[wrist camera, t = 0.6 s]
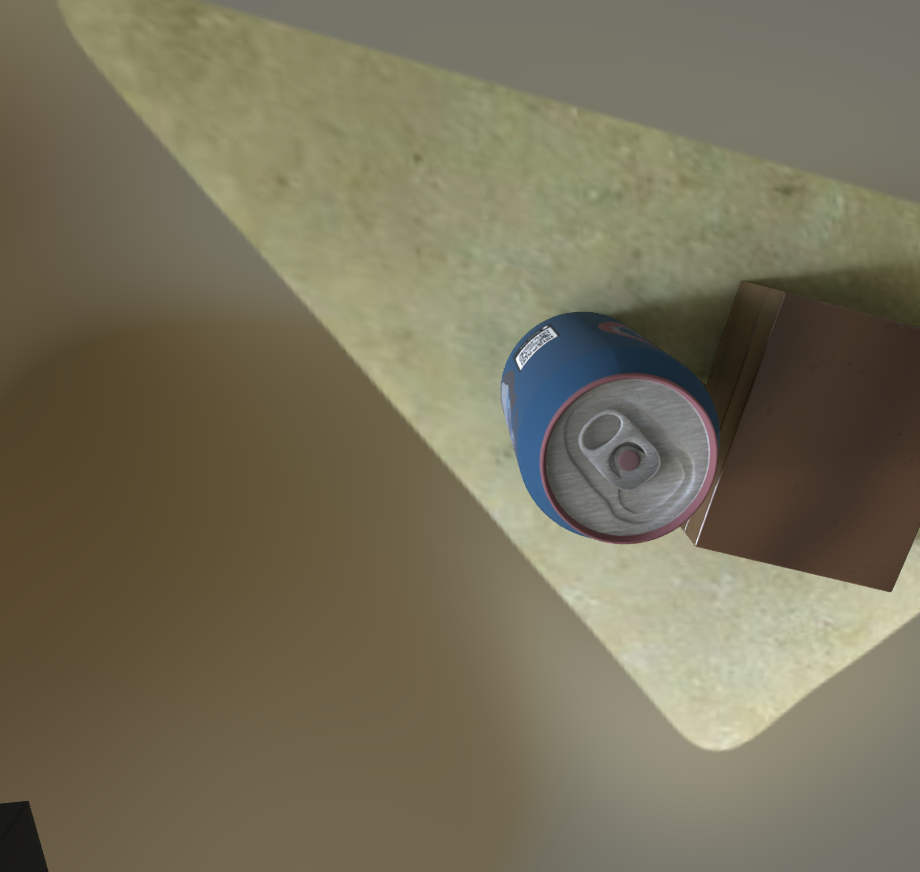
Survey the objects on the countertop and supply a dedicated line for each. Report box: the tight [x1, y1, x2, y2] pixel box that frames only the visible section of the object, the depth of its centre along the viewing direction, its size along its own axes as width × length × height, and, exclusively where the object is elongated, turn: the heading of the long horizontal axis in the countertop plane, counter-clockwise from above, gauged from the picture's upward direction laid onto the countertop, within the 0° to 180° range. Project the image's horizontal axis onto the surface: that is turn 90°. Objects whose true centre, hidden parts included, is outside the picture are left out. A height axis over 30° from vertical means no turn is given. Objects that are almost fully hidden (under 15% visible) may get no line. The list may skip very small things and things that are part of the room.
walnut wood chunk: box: [680, 281, 920, 592], centre depth 36 cm, size 9×11×5 cm
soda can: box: [501, 312, 720, 544], centre depth 32 cm, size 7×7×12 cm
